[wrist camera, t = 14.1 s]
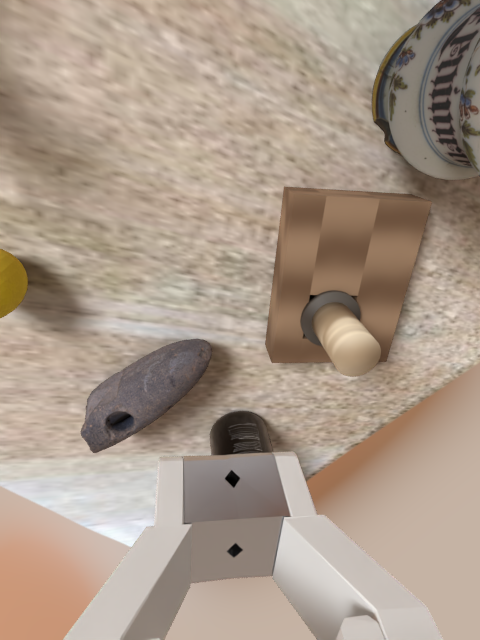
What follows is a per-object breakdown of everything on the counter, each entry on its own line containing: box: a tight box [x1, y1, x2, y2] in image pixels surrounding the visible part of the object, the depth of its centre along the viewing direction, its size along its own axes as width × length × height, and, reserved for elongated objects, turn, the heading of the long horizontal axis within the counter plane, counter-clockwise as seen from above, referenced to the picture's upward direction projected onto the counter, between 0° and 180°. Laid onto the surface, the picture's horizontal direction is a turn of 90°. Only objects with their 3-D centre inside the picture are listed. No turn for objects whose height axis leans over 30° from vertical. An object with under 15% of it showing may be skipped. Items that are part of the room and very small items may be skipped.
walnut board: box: [265, 187, 432, 363], centre depth 38 cm, size 16×12×4 cm
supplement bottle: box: [210, 411, 273, 456], centre depth 42 cm, size 7×7×12 cm
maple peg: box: [300, 290, 381, 377], centre depth 36 cm, size 6×6×10 cm
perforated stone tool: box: [81, 339, 212, 453], centre depth 39 cm, size 15×5×7 cm, turn 121°
